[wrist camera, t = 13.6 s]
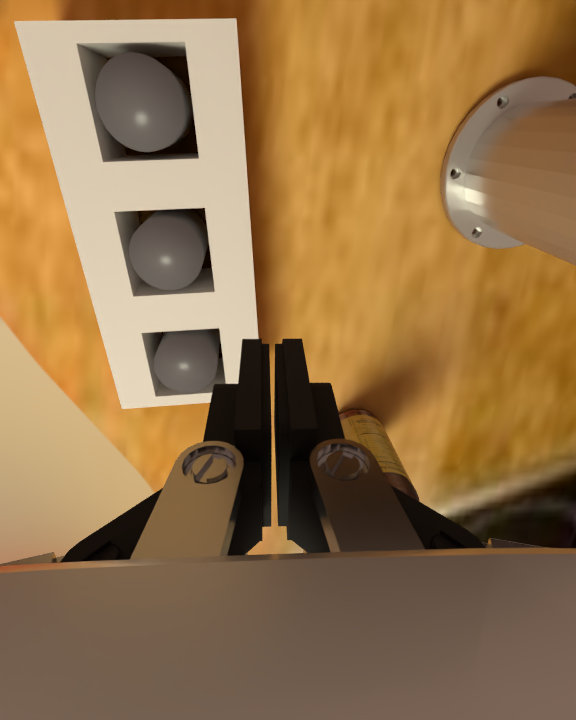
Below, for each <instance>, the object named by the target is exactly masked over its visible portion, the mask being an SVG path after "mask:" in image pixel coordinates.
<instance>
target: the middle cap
mask: <svg viewBox="0 0 576 720" xmlns="http://www.w3.org/2000/svg"><path fill="white" fill-rule="evenodd" d="M208 241H209V238H208V231H207V228H206V226H205V224H204V222H203V221H202V219H201V218H200V217H199V216H198V215H197V214H196V213H195V212H194V211H192V210H190V209H167V210H156V211H155V212H154V213H153V214H152V215H151V216H150V217H149V218H148V219H147V220H146V221H145V222H144V223H143V224H142V225H141V226H140V227H139V228H138V229H137V230H136V231H135V232H134V234H133V236H132V238H131V240H130V244H129V257H130V261H131V264H132V266H133V268H134V270H135V271H136V273H137V274H138V275H139V276H140V277H141V279H143V280H144V281H145V282H146V283H148V284H149V285H151V286H153V287H156V288H159V289H163V290H177V289H181V288H184V287H186V286H188V285H189V284H191V283H192V282H193V281H194V280H195V279H196V278H197V276H198V275H199V273H200V270H201V268H202V264H203V261H204V258H205V254H206V251H207V247H208Z"/></svg>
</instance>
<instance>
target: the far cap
mask: <svg viewBox="0 0 576 720" xmlns="http://www.w3.org/2000/svg"><path fill="white" fill-rule="evenodd" d="M219 346H220V331H219V328H215V329H199V330H183V331H167V332H164V334H163V336H162V339H161V342H160V344H159V347H158V349H157V352H156V355H155V357H154V362H153V366H154V371H155V374H156V376H157V377H158V379H159V380H160V381H161V382H162V383H163V384H164V385H165V386H167V387H168V388H170V389H172V390H175V391H178V392H184V393H190V392H196V391H199V390H202V389H204V388H205V387H207V386H208V385H209V384H210V383H211V382H212V381H213V379H214V378H215V375H216V372H217V363H218V354H219Z"/></svg>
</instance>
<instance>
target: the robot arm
mask: <svg viewBox="0 0 576 720" xmlns="http://www.w3.org/2000/svg"><path fill="white" fill-rule="evenodd" d="M498 99H499V104H498V105H497V101H498ZM452 169H453V171H454V172H453V174H452V175H450V173H451V170H452ZM441 198H442V204H443V208H444V210H445V213H446V215H447V218H448V220H449V221H450V223H451V224H452V226H453V227H454V229H455V230H457V231H458V232H459V233H460V234H461V235H462V236H463V237H465V238H466V239H468V240H470V241H471V242H473V243H476V244H478V245H481V246H483V247H488V248H494V249H503V248H512V247H517V246H521V245H524V244H527V245H530V246H532V247H534V248H537V249H539V250H541V251H543V252H546V253H548V254H550V255H553V256H555V257H557V258H560V259H562V260H564V261H567V262H569V263H571V264H573V265H576V86H575V85H574V84H573V83H571V82H568V81H566V80H563V79H560V78H556V77H546V76H541V77H532V78H526V79H522V80H519V81H515V82H512V83H510V84H508V85H505V86H503V87H501V88H499V89H497V90H496V91H494V92H493V93H491V94H490V95H489V96H487V97H486V98H484V99H483V100H482V101H481V102H480V103H479V104H478V105H477V106H476V107H475V108H474V109H473V110H472V111H471V112H470V113H469V114H468V115H467V117H466V118H465V119H464V121H463V122H462V123H461V125H460V126H459V127H458V129H457V131H456V133H455V135H454V137H453V139H452V140H451V142H450V144H449V147H448V150H447V153H446V156H445V158H444V162H443V167H442V173H441ZM473 230H474V232H473ZM472 232H473V233H472ZM274 428H275V456H276V482H277V509H278V526H287V540H292V541H294V542H295V543H296V544H297V545H299V546H300V547H301V548H302V549H304V551H303V553H296V554H266V555H247V552H248V551H249V550H250V549H252V548H253V547H254V546H255V545H256V544H257V543H258V542H259V541H262V527H268V526H271V394H270V359H269V344H262V340H261V339H242V348H241V358H240V369H239V380H238V384H214V386H213V391H212V397H211V402H210V407H209V413H208V418H207V424H206V429H205V434H204V440H203V442H202V443H197V444H195V445H193V446H191V447H189V448H187V449H186V450H185V451H184V452H182V453H181V454H180V456H179V457H178V459H177V460H176V462H175V464H174V466H173V468H172V470H171V472H170V475H169V477H168V479H167V481H166V483H165V485H164V487H163V488H162V489H161V490H159V491H157V492H156V493H154V494H153V495H151V496H150V497H149V498H147V499H145V500H144V501H142V502H140V503H139V504H137V505H136V506H135V507H133V508H131V509H130V510H128V511H127V512H125V513H123V514H122V515H120V516H119V517H117V518H116V519H114V520H113V521H111V522H110V523H108V524H107V525H105V526H103V527H102V528H100V529H99V530H97V531H96V532H94V533H93V534H91V535H89V536H88V537H86V538H85V539H83V540H82V541H80V542H79V543H78V544H76V545H75V546H74V547H73V548H71V549H70V550H69V551H68V552H67V554H66V555H65V556H61V557H57V558H56V556H55V554H54V552H52V553H48V554H43V555H39V556H34V557H30V558H26V559H21V560H17V561H12V562H8V563H3V564H0V720H576V549H568V548H545V547H539V546H533V545H527V544H521V543H515V542H509V541H504V540H498V539H492V538H490V539H489V542H488V544H487V543H482V542H481V541H480V540H479V539H478V538H477V537H476V536H474V535H473V534H472V533H470V532H469V531H468V530H466V529H465V528H463V527H461V526H460V525H458V524H456V523H454V522H453V521H451V520H449V519H448V518H446V517H444V516H443V515H441V514H439V513H437V512H436V511H434V510H432V509H431V508H429V507H427V506H426V505H424V504H422V503H421V502H419V501H417V500H415V499H414V498H412V497H410V496H409V495H407V494H405V493H404V492H402V491H400V490H398V489H397V488H395V487H393V486H392V485H390V484H389V482H388V480H387V478H386V476H385V475H384V473H383V471H382V469H381V467H380V465H379V464H378V462H377V460H376V458H375V456H374V455H373V454H372V453H371V451H370V450H369V449H367V448H366V447H365V446H363V445H362V444H360V443H357V442H355V441H352V440H347V439H345V436H344V432H343V428H342V424H341V421H340V417H339V413H338V409H337V405H336V401H335V397H334V393H333V390H332V386H331V383H310V382H309V376H308V371H307V365H306V359H305V354H304V348H303V343H302V339H283V340H282V344H275V410H274Z"/></svg>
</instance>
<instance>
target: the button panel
mask: <svg viewBox="0 0 576 720" xmlns="http://www.w3.org/2000/svg"><path fill="white" fill-rule="evenodd" d="M14 23H15V27H16V30H17V34H18V37H19V41H20V44H21V48H22V52H23V55H24V59H25V62H26V66H27V70H28V73H29V77H30V80H31V84H32V87H33V91H34V95H35V98H36V102H37V105H38V109H39V113H40V116H41V120H42V123H43V127H44V131H45V134H46V138H47V141H48V145H49V148H50V152H51V156H52V159H53V163H54V166H55V170H56V174H57V177H58V181H59V184H60V188H61V192H62V195H63V199H64V202H65V206H66V209H67V213H68V217H69V220H70V224H71V227H72V231H73V235H74V238H75V242H76V245H77V249H78V253H79V256H80V260H81V263H82V267H83V270H84V274H85V278H86V281H87V285H88V288H89V292H90V296H91V299H92V303H93V306H94V310H95V314H96V317H97V321H98V324H99V328H100V331H101V335H102V339H103V342H104V346H105V349H106V353H107V357H108V360H109V364H110V367H111V371H112V375H113V378H114V382H115V385H116V389H117V392H118V396H119V400H120V403H121V407H122V409H128V408H142V407H155V406H169V405H182V404H196V403H210V402H211V397H212V391H213V386H214V384H238V380H239V369H240V358H241V348H242V339H259V338H258V324H257V309H256V294H255V280H254V265H253V251H252V236H251V221H250V207H249V192H248V178H247V163H246V148H245V134H244V119H243V104H242V90H241V75H240V61H239V46H238V32H237V19H236V18H229V19H153V20H76V21H14ZM128 52H136V53H141V54H145V55H147V56H150V57H178V56H187V63H188V71H189V80H190V88H191V96H192V105H193V113H194V121H195V130H196V138H197V146H198V153H185V154H155V155H126V151H125V146H124V145H123V144H121V143H120V142H119V141H117V140H116V139H115V138H114V137H113V136H112V135H111V134H110V132H109V131H108V130H107V129H106V127H105V126H104V124H103V122H102V120H101V118H100V116H99V113H98V110H97V106H96V100H95V87H96V82H97V78H98V75H99V73H100V71H101V69H102V68H103V66H104V65H105V64H106V63H107V62H108V60H107V58H113V57H115V56H117V55H119V54H122V53H128ZM190 208H205V213H206V222H207V230H208V238H209V247H210V255H211V263H212V268H204V269H201V270H200V273H199V275H198V276H197V278H196V279H195V280H194V281H193V282H192V283H191V284H189V285H188V286H186V287H184V288H181V289H177V290H163V289H159V288H156V287H153V286H151V285H149V284H148V283H146V282H145V281H144V280H143V279H141V277H140V276H139V275H138V274H137V273H136V271H135V270H134V268H133V266H132V264H131V261H130V257H129V244H130V240H131V238H132V236H133V234H134V232H135V231H136V230H137V229H138V228H139V227H140V222H139V217H138V212H137V211H143V210H167V209H190ZM215 328H219V330H220V339H221V347H222V355H223V358H218V363H217V372H216V375H215V378H214V379H213V381H212V382H211V383H210V384H209V385H208V386H207V387H205V388H204V389H202V390H199V391H196V392H190V393H184V392H178V391H175V390H172V389H170V388H168V387H167V386H165V385H164V384H163V383H162V382H161V381H160V380H159V379H158V377H157V376H156V374H155V371H154V366H153V362H154V357H155V355H156V352H157V349H158V347H159V344H160V342H161V339H162V333H161V332H167V331H183V330H199V329H215Z"/></svg>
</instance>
